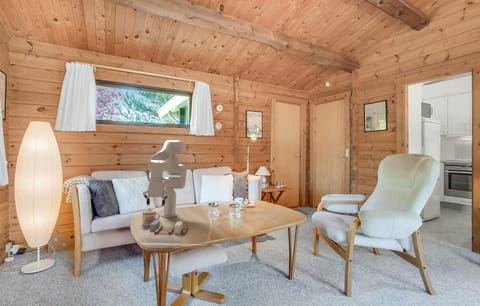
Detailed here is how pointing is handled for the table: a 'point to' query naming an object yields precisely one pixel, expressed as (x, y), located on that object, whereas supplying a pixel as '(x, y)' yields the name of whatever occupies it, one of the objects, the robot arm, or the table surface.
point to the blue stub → (154, 225)
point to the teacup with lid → (149, 216)
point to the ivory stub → (178, 227)
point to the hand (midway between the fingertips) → (155, 205)
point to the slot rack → (169, 231)
